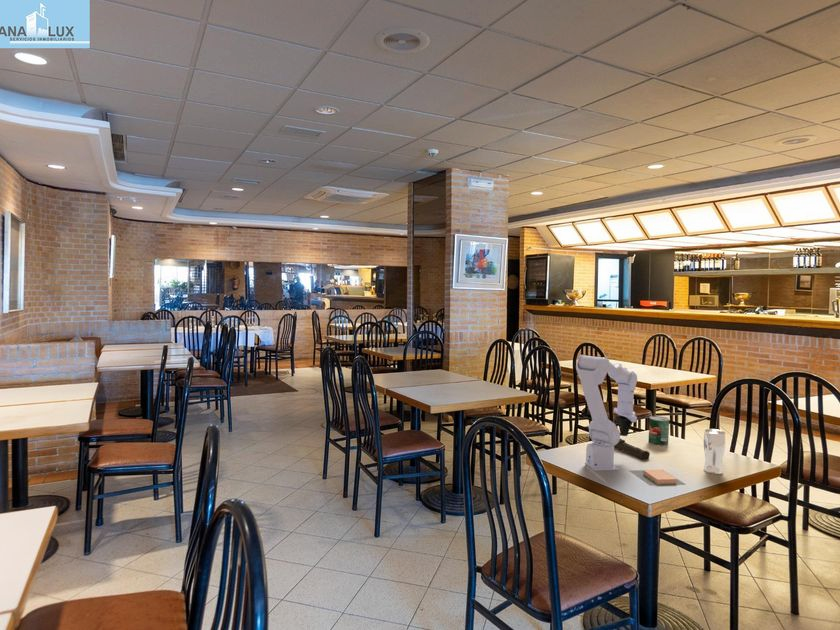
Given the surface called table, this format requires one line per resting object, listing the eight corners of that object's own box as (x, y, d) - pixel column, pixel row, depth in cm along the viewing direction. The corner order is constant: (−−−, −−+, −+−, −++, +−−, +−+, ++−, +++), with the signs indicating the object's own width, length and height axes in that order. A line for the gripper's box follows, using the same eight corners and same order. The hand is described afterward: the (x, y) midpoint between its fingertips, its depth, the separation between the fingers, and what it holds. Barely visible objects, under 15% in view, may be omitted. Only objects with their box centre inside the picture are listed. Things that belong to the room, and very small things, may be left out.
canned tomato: (645, 442, 224) (646, 418, 223) (652, 439, 229) (653, 415, 229) (664, 447, 218) (665, 421, 217) (671, 443, 223) (672, 418, 223)
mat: (650, 486, 175) (650, 485, 175) (629, 471, 189) (629, 470, 189) (686, 485, 176) (686, 484, 176) (662, 470, 190) (662, 469, 190)
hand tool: (650, 460, 201) (650, 449, 201) (641, 461, 200) (642, 449, 200) (618, 446, 219) (618, 435, 219) (610, 447, 218) (610, 436, 218)
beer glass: (711, 467, 194) (713, 428, 194) (728, 473, 188) (730, 433, 187) (697, 469, 192) (699, 429, 191) (714, 475, 185) (716, 434, 185)
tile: (643, 474, 185) (657, 484, 176) (643, 470, 184) (657, 479, 175) (661, 474, 185) (676, 483, 176) (661, 469, 185) (676, 479, 176)
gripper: (645, 405, 194) (643, 440, 195) (625, 397, 208) (624, 430, 209) (627, 405, 193) (625, 441, 194) (609, 397, 207) (607, 430, 208)
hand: (624, 435), depth 201 cm, fingers closed
